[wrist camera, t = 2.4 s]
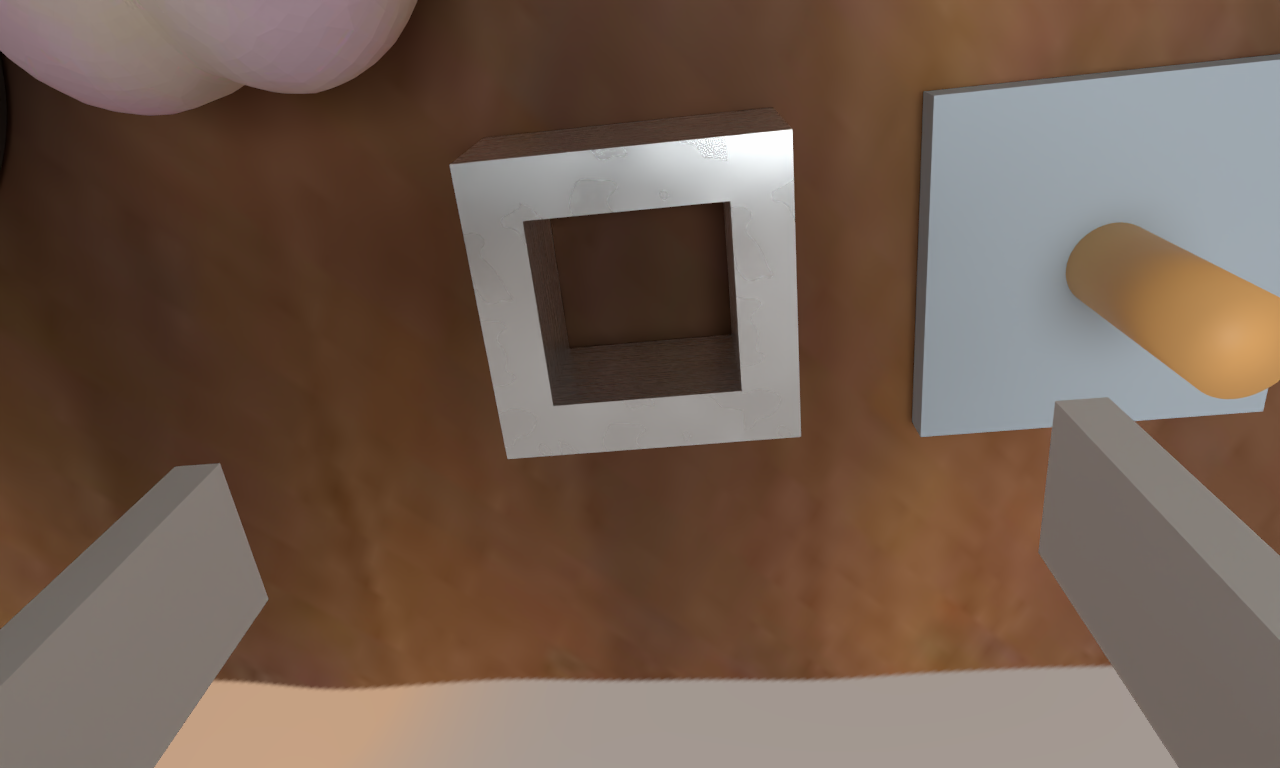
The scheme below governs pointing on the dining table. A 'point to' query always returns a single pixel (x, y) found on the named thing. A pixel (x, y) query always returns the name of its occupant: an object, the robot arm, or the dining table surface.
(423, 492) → the dining table surface
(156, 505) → the robot arm
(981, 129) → the keeper
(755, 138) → the gray square frame
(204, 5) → the decorative fruit
